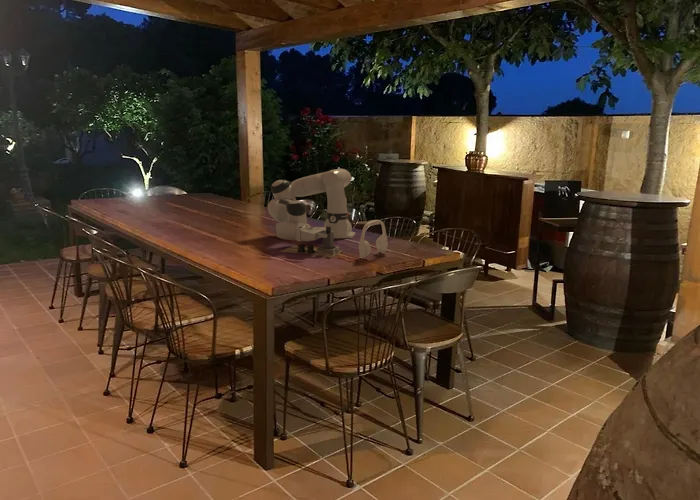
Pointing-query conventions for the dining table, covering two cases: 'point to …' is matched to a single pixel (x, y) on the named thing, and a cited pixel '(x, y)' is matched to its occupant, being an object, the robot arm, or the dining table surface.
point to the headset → (380, 242)
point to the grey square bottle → (328, 239)
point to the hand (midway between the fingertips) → (330, 234)
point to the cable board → (314, 250)
